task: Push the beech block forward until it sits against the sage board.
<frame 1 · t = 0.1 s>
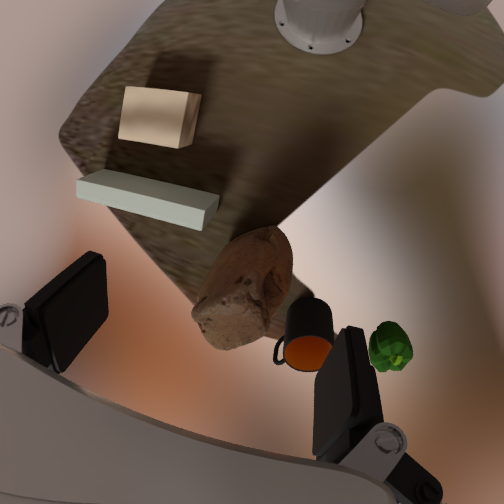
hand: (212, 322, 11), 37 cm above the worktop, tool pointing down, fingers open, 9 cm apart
sage board: (156, 188, 48), on the worktop
bell pepper: (386, 331, 54), on the worktop
beech block: (167, 114, 43), on the worktop
brown rounded tall lump: (259, 247, 50), on the worktop
mug: (301, 320, 55), on the worktop
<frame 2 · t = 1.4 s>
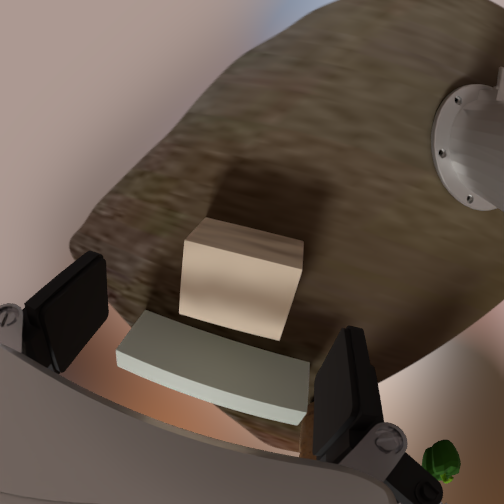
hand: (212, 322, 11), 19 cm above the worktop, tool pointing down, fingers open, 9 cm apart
sage board: (223, 346, 37), on the worktop
bell pepper: (438, 444, 43), on the worktop
beech block: (247, 263, 32), on the worktop
brown rounded tall lump: (342, 403, 39), on the worktop
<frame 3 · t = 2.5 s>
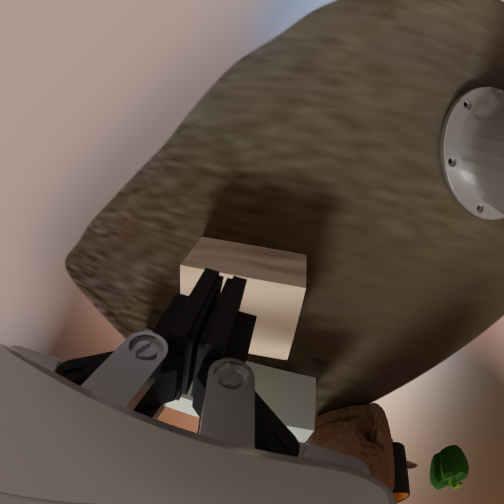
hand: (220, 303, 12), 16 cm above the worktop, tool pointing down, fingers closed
sage board: (227, 363, 36), on the worktop
bell pepper: (446, 450, 41), on the worktop
beech block: (249, 280, 31), on the worktop
brown rounded tall lump: (349, 415, 38), on the worktop
mug: (373, 454, 43), on the worktop
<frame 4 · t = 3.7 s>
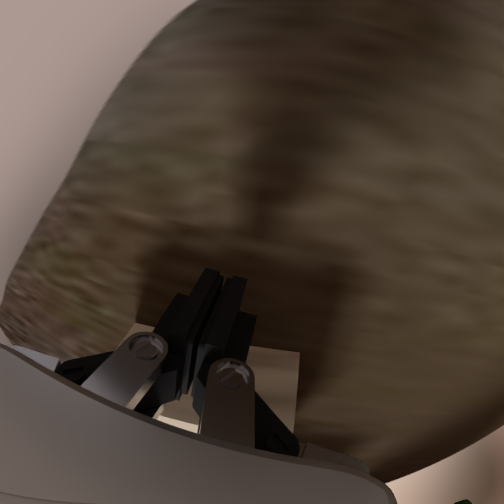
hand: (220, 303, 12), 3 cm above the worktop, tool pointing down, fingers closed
bell pepper: (455, 503, 29), on the worktop
beech block: (214, 380, 19), on the worktop
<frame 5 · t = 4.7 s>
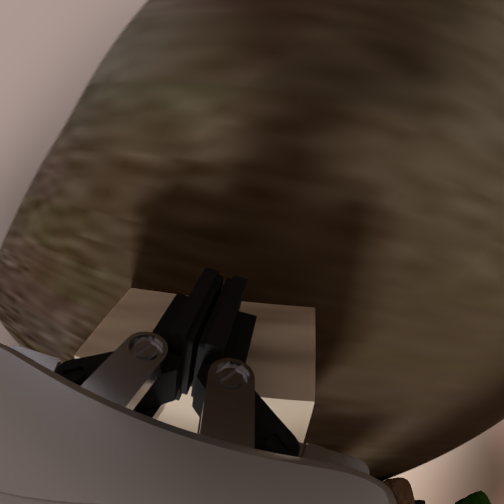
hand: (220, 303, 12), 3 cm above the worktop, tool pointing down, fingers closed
bell pepper: (469, 495, 28), on the worktop
beech block: (221, 352, 17), on the worktop, touching gripper
brown rounded tall lump: (365, 486, 24), on the worktop
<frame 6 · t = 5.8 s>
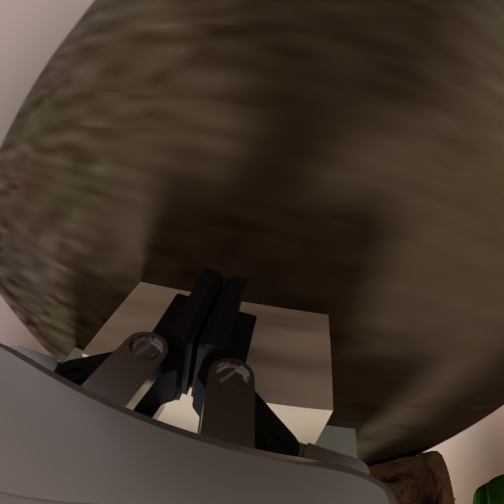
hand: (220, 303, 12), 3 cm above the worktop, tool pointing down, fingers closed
sage board: (206, 409, 20), on the worktop
bell pepper: (491, 480, 25), on the worktop
beech block: (226, 353, 17), on the worktop, touching gripper
brown rounded tall lump: (393, 466, 22), on the worktop
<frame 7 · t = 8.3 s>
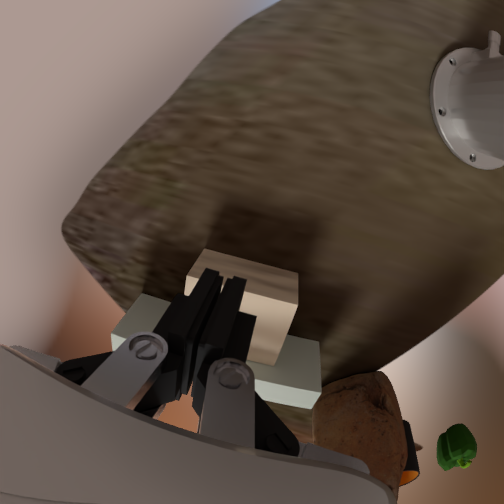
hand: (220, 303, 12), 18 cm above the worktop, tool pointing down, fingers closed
sage board: (226, 328, 36), on the worktop
bell pepper: (451, 430, 41), on the worktop
beech block: (243, 291, 33), on the worktop
brown rounded tall lump: (353, 387, 38), on the worktop
mug: (378, 435, 43), on the worktop
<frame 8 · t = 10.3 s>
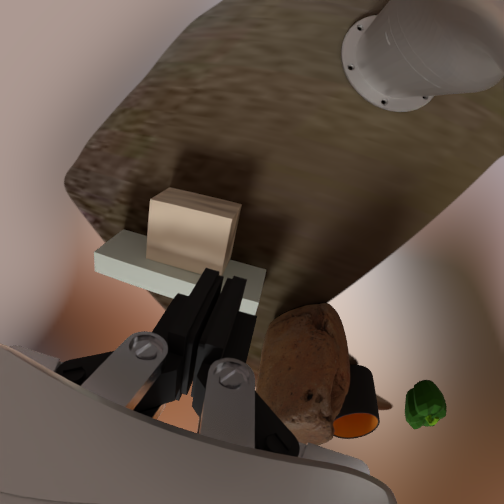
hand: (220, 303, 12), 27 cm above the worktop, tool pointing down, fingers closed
sage board: (189, 257, 43), on the worktop
bell pepper: (420, 387, 48), on the worktop
beech block: (200, 222, 41), on the worktop
brown rounded tall lump: (306, 321, 45), on the worktop
mug: (341, 383, 50), on the worktop
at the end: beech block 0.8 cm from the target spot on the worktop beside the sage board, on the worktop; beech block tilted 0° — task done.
